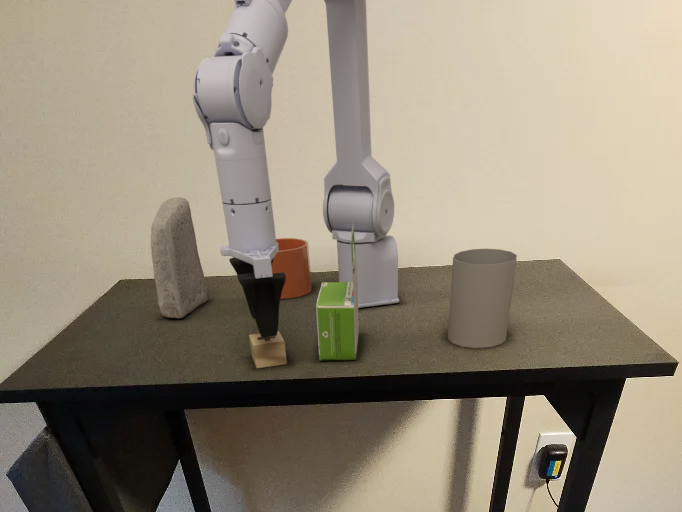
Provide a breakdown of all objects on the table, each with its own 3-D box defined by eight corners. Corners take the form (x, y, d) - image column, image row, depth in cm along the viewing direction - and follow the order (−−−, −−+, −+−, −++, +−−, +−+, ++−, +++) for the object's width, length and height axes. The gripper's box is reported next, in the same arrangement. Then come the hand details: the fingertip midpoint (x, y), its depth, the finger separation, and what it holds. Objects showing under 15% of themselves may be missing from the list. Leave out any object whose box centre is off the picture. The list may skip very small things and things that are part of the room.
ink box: (324, 335, 88) (316, 222, 78) (360, 334, 87) (356, 221, 77) (319, 362, 80) (308, 241, 70) (357, 361, 80) (352, 239, 70)
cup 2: (469, 352, 81) (476, 268, 74) (436, 334, 86) (440, 255, 79) (518, 339, 83) (530, 258, 76) (484, 323, 89) (492, 245, 81)
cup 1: (305, 281, 108) (301, 235, 103) (316, 295, 102) (312, 247, 97) (256, 286, 107) (249, 241, 102) (263, 301, 100) (257, 253, 96)
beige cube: (281, 353, 83) (278, 330, 81) (287, 364, 80) (284, 340, 78) (252, 357, 82) (248, 334, 80) (256, 368, 80) (252, 344, 77)
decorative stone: (188, 321, 95) (162, 207, 84) (154, 320, 96) (124, 207, 85) (213, 300, 102) (193, 193, 91) (181, 299, 103) (157, 193, 92)
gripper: (207, 193, 73) (228, 313, 82) (218, 214, 63) (241, 348, 72) (263, 188, 74) (277, 307, 84) (283, 208, 64) (297, 341, 74)
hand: (264, 326), depth 78 cm, fingers open, 7 cm apart
